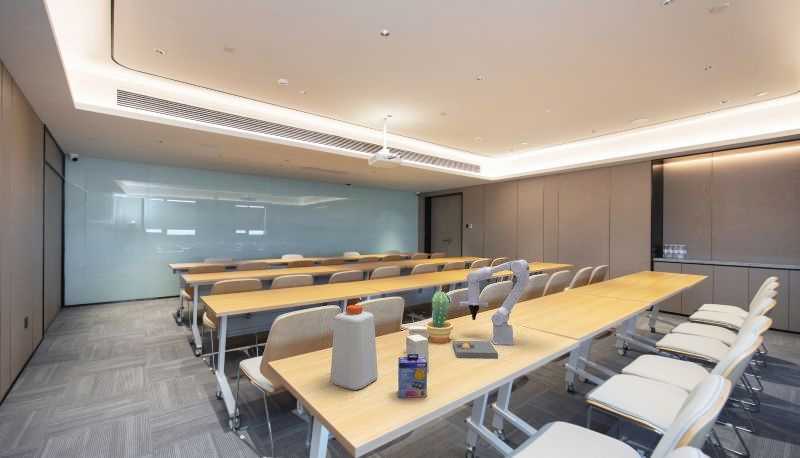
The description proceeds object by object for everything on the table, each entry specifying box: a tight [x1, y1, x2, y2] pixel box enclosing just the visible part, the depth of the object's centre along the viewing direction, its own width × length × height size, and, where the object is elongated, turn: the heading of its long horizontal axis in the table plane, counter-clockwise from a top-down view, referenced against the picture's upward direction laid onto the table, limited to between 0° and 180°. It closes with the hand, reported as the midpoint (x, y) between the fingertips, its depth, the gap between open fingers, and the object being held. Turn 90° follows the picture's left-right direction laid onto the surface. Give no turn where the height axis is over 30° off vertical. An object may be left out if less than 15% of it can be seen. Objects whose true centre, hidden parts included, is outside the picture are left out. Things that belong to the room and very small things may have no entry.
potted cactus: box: [423, 290, 454, 344], centre depth 175 cm, size 15×15×25 cm
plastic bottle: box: [329, 304, 379, 391], centre depth 127 cm, size 15×15×28 cm
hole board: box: [452, 340, 499, 359], centre depth 157 cm, size 18×16×2 cm
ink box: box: [408, 325, 429, 340], centre depth 156 cm, size 9×5×12 cm, turn 84°
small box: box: [405, 334, 429, 373], centre depth 137 cm, size 8×6×13 cm
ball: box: [462, 343, 470, 348], centre depth 157 cm, size 4×4×4 cm
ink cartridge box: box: [397, 354, 428, 399], centre depth 116 cm, size 10×6×14 cm, turn 95°
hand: (473, 319), depth 179 cm, fingers closed
